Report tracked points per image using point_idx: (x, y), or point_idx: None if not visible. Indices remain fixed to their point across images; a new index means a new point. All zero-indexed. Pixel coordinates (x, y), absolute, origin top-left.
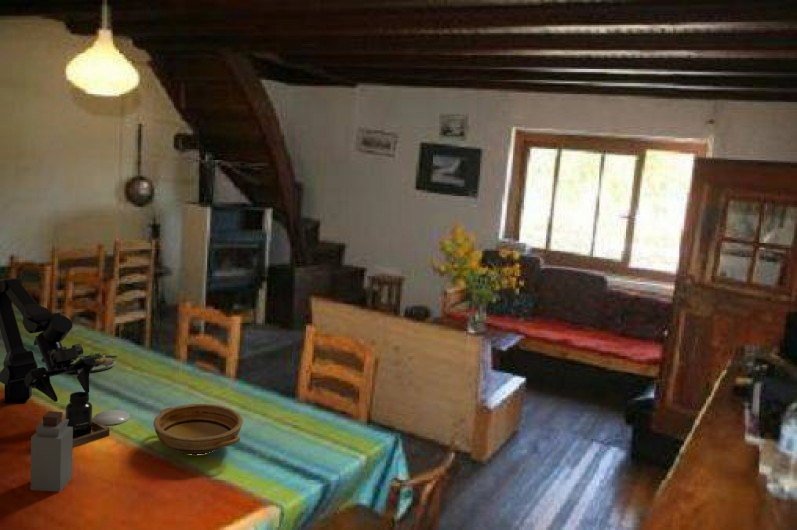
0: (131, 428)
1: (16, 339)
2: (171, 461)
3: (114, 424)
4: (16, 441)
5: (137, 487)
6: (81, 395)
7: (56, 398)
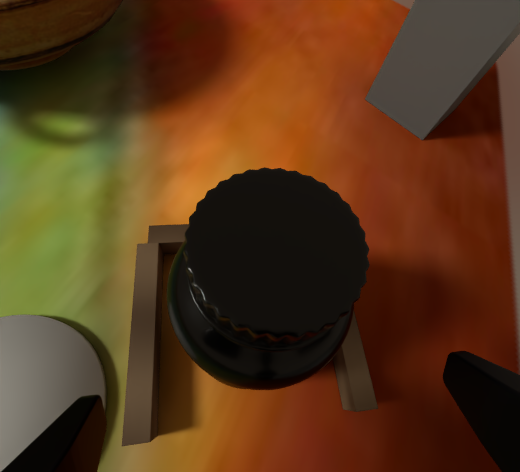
0: (39, 242)
1: None
2: (136, 25)
3: (60, 322)
4: None
5: (265, 7)
6: (272, 212)
7: (474, 360)
